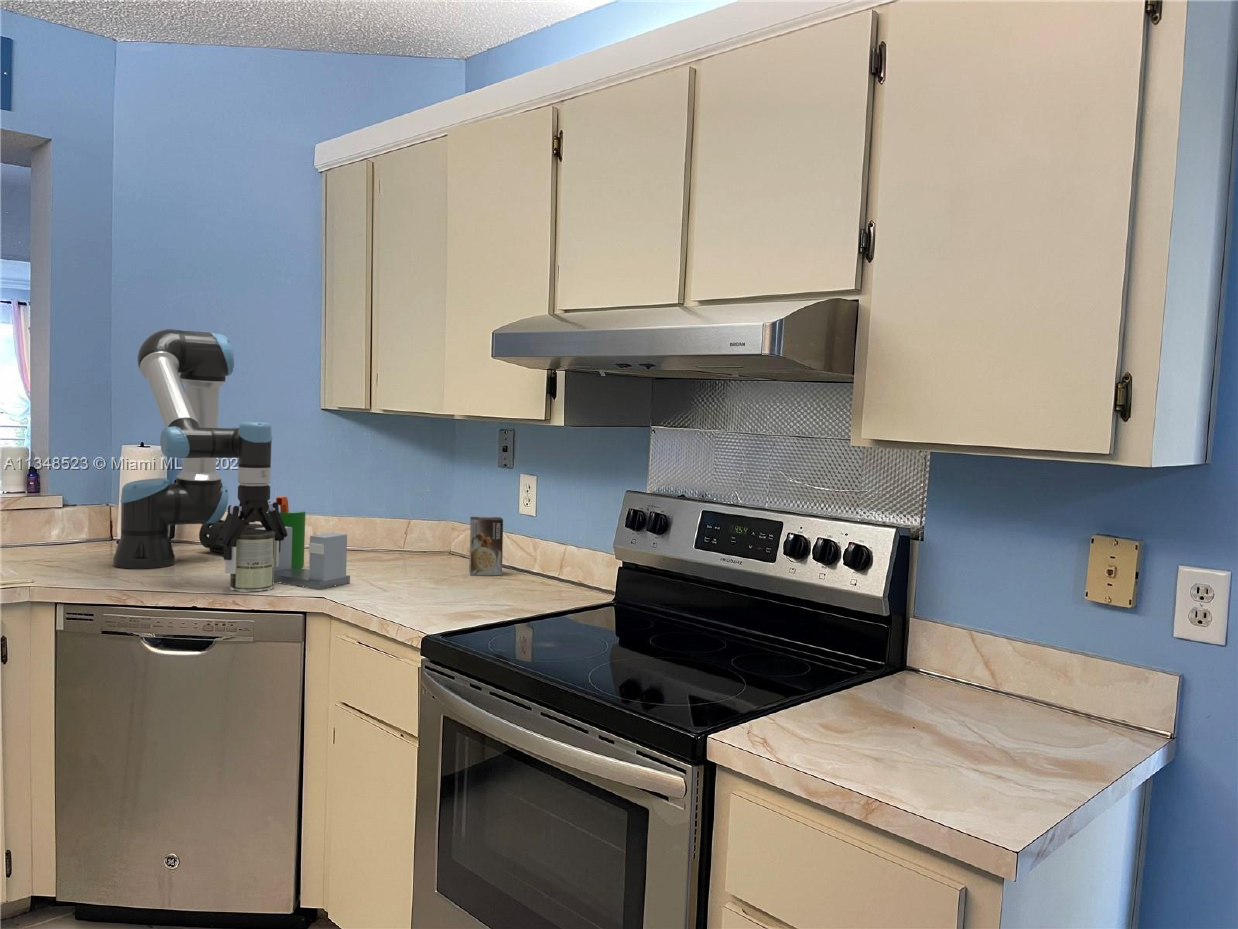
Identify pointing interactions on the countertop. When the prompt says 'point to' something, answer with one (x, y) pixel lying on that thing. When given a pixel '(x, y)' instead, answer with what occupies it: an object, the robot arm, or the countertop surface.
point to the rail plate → (306, 578)
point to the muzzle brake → (216, 534)
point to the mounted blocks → (318, 555)
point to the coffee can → (254, 561)
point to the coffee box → (486, 545)
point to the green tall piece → (294, 531)
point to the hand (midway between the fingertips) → (252, 569)
